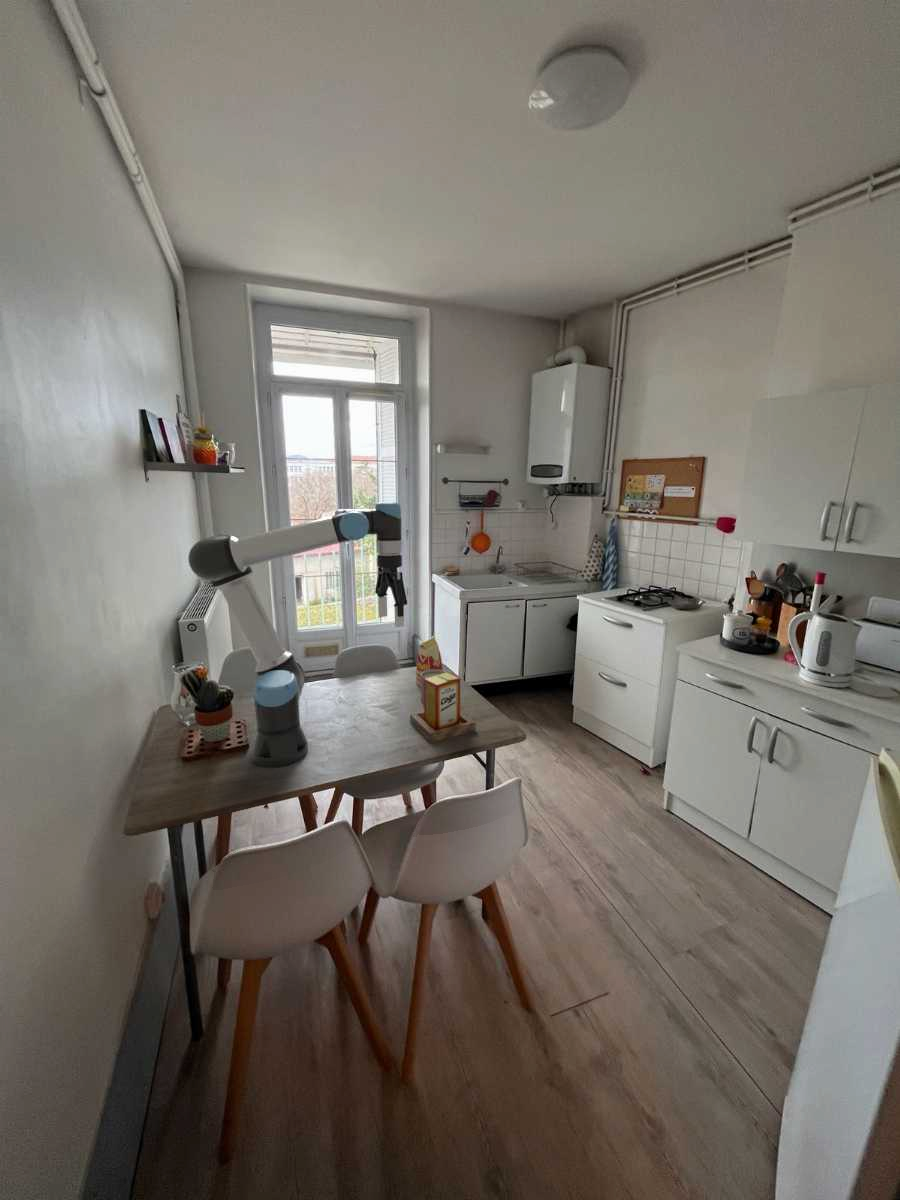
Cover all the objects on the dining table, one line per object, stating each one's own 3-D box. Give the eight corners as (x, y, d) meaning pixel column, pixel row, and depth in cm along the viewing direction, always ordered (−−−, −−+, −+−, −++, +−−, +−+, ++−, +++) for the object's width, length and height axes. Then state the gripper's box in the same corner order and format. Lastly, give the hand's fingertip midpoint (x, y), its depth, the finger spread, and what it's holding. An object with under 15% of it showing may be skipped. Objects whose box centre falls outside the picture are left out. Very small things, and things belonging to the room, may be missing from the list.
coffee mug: (431, 708, 171) (431, 681, 169) (415, 699, 178) (415, 673, 176) (460, 698, 179) (460, 672, 177) (443, 690, 186) (444, 665, 184)
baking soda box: (436, 732, 152) (436, 684, 148) (424, 724, 157) (424, 677, 153) (459, 723, 157) (460, 677, 154) (447, 716, 162) (447, 671, 159)
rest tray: (430, 742, 147) (430, 733, 146) (410, 722, 160) (410, 714, 159) (475, 730, 155) (475, 722, 154) (452, 712, 167) (452, 704, 167)
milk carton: (431, 679, 197) (431, 631, 193) (445, 685, 190) (446, 637, 186) (413, 684, 192) (412, 636, 187) (427, 691, 185) (427, 641, 180)
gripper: (418, 558, 139) (418, 629, 143) (385, 549, 160) (387, 611, 164) (393, 559, 135) (395, 632, 140) (364, 550, 156) (366, 614, 161)
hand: (390, 621), depth 152 cm, fingers open, 13 cm apart
